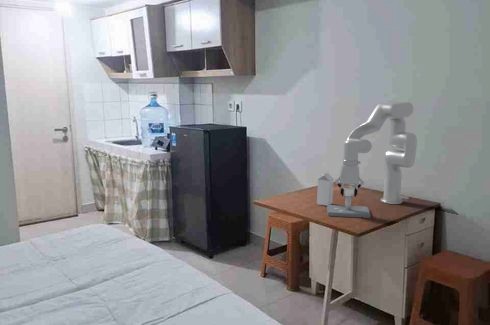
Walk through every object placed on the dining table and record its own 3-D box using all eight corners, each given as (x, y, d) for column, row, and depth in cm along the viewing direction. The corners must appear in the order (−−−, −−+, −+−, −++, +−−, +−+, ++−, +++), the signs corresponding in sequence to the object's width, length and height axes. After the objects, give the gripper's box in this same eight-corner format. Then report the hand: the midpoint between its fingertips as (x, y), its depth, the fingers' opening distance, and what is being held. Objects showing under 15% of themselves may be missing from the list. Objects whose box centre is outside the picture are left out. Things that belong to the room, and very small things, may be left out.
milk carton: (332, 203, 252) (334, 172, 249) (328, 206, 246) (329, 174, 243) (321, 201, 256) (322, 170, 253) (316, 204, 250) (318, 172, 247)
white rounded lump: (350, 193, 236) (351, 185, 235) (356, 195, 230) (356, 187, 229) (341, 193, 234) (341, 185, 233) (346, 196, 228) (346, 188, 228)
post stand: (366, 210, 239) (367, 192, 238) (370, 218, 225) (371, 199, 223) (326, 208, 243) (327, 190, 241) (327, 215, 228) (328, 197, 226)
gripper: (366, 162, 231) (364, 194, 235) (333, 161, 234) (332, 193, 237) (367, 165, 224) (365, 198, 227) (334, 163, 227) (332, 196, 230)
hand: (348, 195), depth 232 cm, fingers closed on white rounded lump, 6 cm apart
